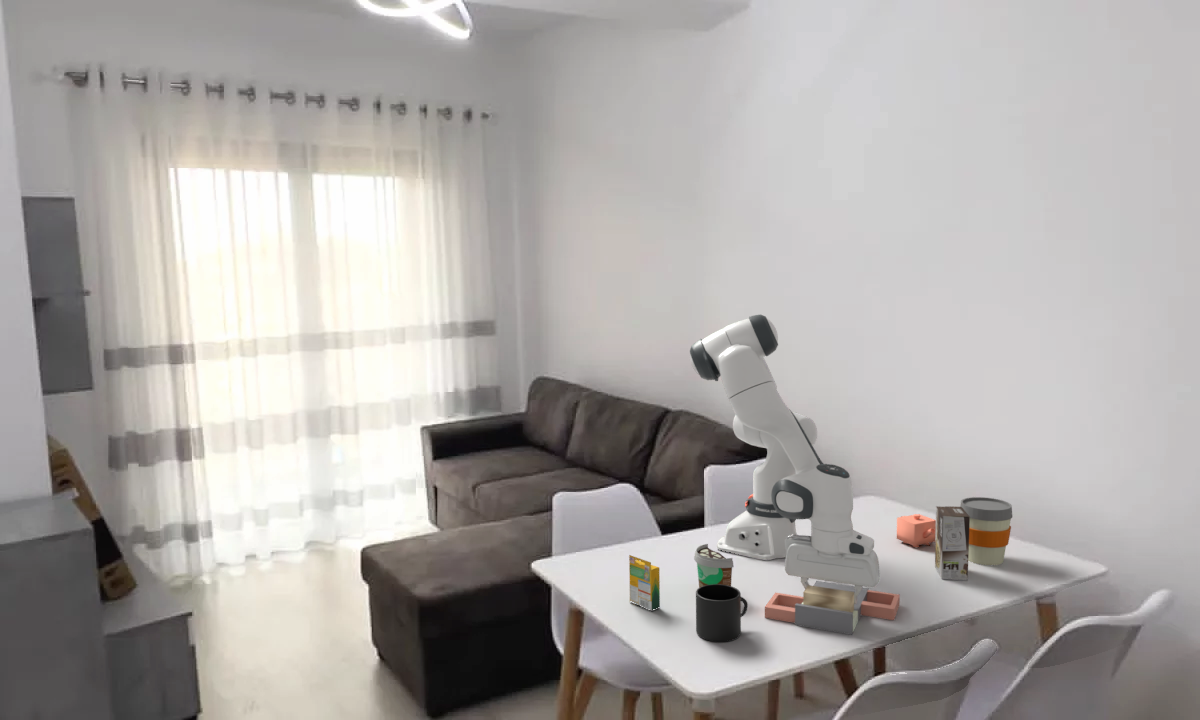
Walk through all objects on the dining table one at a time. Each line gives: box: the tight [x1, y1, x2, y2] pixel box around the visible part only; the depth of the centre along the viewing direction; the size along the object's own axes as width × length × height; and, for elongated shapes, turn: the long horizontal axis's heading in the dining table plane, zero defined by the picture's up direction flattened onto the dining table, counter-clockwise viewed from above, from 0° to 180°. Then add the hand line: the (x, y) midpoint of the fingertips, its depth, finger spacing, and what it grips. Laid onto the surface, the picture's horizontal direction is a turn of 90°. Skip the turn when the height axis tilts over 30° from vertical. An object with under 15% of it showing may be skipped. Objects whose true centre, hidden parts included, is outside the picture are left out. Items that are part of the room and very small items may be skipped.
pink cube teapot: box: [896, 513, 936, 548], centre depth 232 cm, size 8×12×8 cm, turn 23°
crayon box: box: [628, 554, 661, 610], centre depth 194 cm, size 7×3×12 cm, turn 42°
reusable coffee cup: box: [959, 496, 1013, 566], centre depth 219 cm, size 13×13×15 cm
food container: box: [693, 543, 734, 588], centre depth 201 cm, size 12×6×10 cm, turn 23°
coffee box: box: [934, 505, 970, 581], centre depth 210 cm, size 9×6×16 cm
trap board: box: [764, 580, 901, 636], centre depth 189 cm, size 26×21×4 cm
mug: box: [695, 584, 749, 643], centre depth 180 cm, size 9×12×9 cm
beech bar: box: [802, 584, 854, 612], centre depth 184 cm, size 10×4×4 cm, turn 63°
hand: (831, 599), depth 187 cm, fingers open, 8 cm apart
